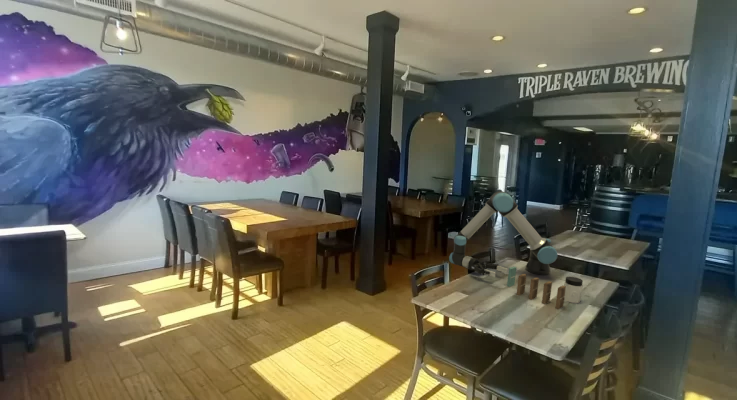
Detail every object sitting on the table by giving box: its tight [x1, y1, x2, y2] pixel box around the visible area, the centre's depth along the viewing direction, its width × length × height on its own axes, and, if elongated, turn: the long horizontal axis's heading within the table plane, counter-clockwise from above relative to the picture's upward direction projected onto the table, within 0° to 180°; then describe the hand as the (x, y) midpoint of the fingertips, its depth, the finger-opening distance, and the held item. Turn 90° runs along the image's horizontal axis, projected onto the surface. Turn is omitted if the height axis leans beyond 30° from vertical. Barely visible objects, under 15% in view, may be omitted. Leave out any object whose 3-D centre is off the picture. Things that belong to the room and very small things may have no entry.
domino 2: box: [528, 277, 540, 301], centre depth 200 cm, size 6×2×11 cm, turn 131°
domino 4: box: [555, 284, 566, 310], centre depth 190 cm, size 6×2×11 cm, turn 131°
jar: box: [563, 276, 583, 304], centre depth 200 cm, size 9×8×12 cm
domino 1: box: [515, 273, 527, 296], centre depth 205 cm, size 6×2×11 cm, turn 131°
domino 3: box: [541, 281, 553, 305], centre depth 195 cm, size 6×2×11 cm, turn 131°
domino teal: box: [506, 266, 517, 288], centre depth 218 cm, size 6×2×11 cm, turn 131°
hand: (501, 272), depth 223 cm, fingers open, 13 cm apart
